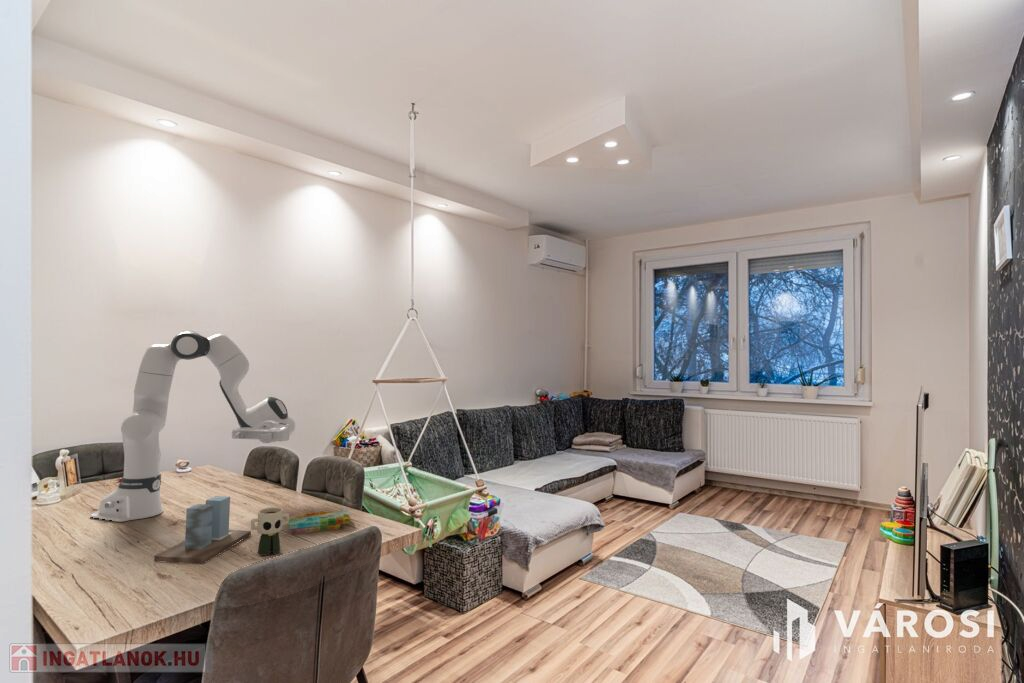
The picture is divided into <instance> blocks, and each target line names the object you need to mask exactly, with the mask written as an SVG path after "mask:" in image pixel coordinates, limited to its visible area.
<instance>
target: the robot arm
mask: <svg viewBox="0 0 1024 683" xmlns="http://www.w3.org/2000/svg"><path fill="white" fill-rule="evenodd" d="M201 357H205V358H207V359H208V360H209V361H211V363H212V364H213V365H214V367H215V368H216V369H217V371H218V373H219V376H220V380H219V382H218V384H219V387H220V389H221V390H220V391H222V393H223V396H224V397H225V399H226V401H227V403H228V405H229V407H230V408H231V410H232V412H233V414H234V415H235V418H236V421H237V423H238V425H239V427H238V428H233V429H232V430H231V438H232V439H234V440H235V439H236V440H258V441H260V442H261V443H263V444H271V443H276V442H287V441H289V440H290V437H291V435H292V434H294V432H295V429H296V422H295V420H294V419H293V418H292V417H290V416H289V415H288V410H287V407H286V404H285V403H284V402H283V401H282V400H281V399H279V398H277V397H275V396H267V398H265V399H264V400H261V401H260V402H259V403H257V404H255V405H253V406H252V407H250V408H249V407H247V405H246V404H245V401H244V400H243V397H242V396H241V394H240V393H239V392H240V391H239V386H240V384H241V382H243V381H242V380H244V378H245V377H246V375H247V374H248V371H249V368H250V363H249V360H248V358H247V357H246V355H245V354H244V353H243V351H242V350H241V349H240V348H239V346H238V345H237V344H236V343H235V342H234V341H233V340H232V339H230V337H229V336H227V335H225V334H224V333H217V334H213V335H211V336H208V337H206V336H203V335H201V334H199V332H196V331H193V330H184V331H181V332H179V333H178V334H176V335H175V336H174V337H173V338H172V340H171V341H170V343H168V344H162V343H156V344H152V345H149V346H148V347H147V348H146V351H145V352H144V355H143V356H142V359H141V361H140V365H139V367H138V373H137V377H136V381H135V385H134V389H133V407H132V412H131V413H130V414H128V415H126V417H125V418H124V419H123V421H122V423H121V426H120V431H121V436H122V446H123V453H124V454H123V456H124V460H123V463H124V464H123V476H122V477H121V478H118V479H116V480H115V481H116V482H115V483H116V484H118V486H117V488H116V489H114V490H113V491H111V492H110V493H108V494H107V495H105V496H104V497H103V498H101V500H100V503H99V507H98V510H97V511H95V512H94V511H93V512H92V513H91V514H90V515H89V518H90V517H93V518H92V519H94V518H99V519H98V520H102V519H105V520H104V521H109V520H112V521H111V522H116V523H117V522H119V523H120V522H121V523H122V522H123V523H124V522H128V521H133V520H140V519H147V518H150V517H155V516H158V515H160V514H162V513H164V508H163V505H162V501H161V491H160V489H161V484H162V474H161V461H162V460H161V459H162V458H161V456H162V454H161V448H160V440H159V439H160V437H159V436H160V432H162V430H163V429H164V427H166V426H165V425H166V420H167V415H168V413H167V412H168V405H169V397H170V396H169V395H170V392H171V387H172V384H173V383H172V382H173V378H174V376H175V375H174V373H175V369H176V367H177V366H176V365H177V364H178V362H179V361H181V360H189V361H191V360H195V359H198V358H201Z"/></svg>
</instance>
